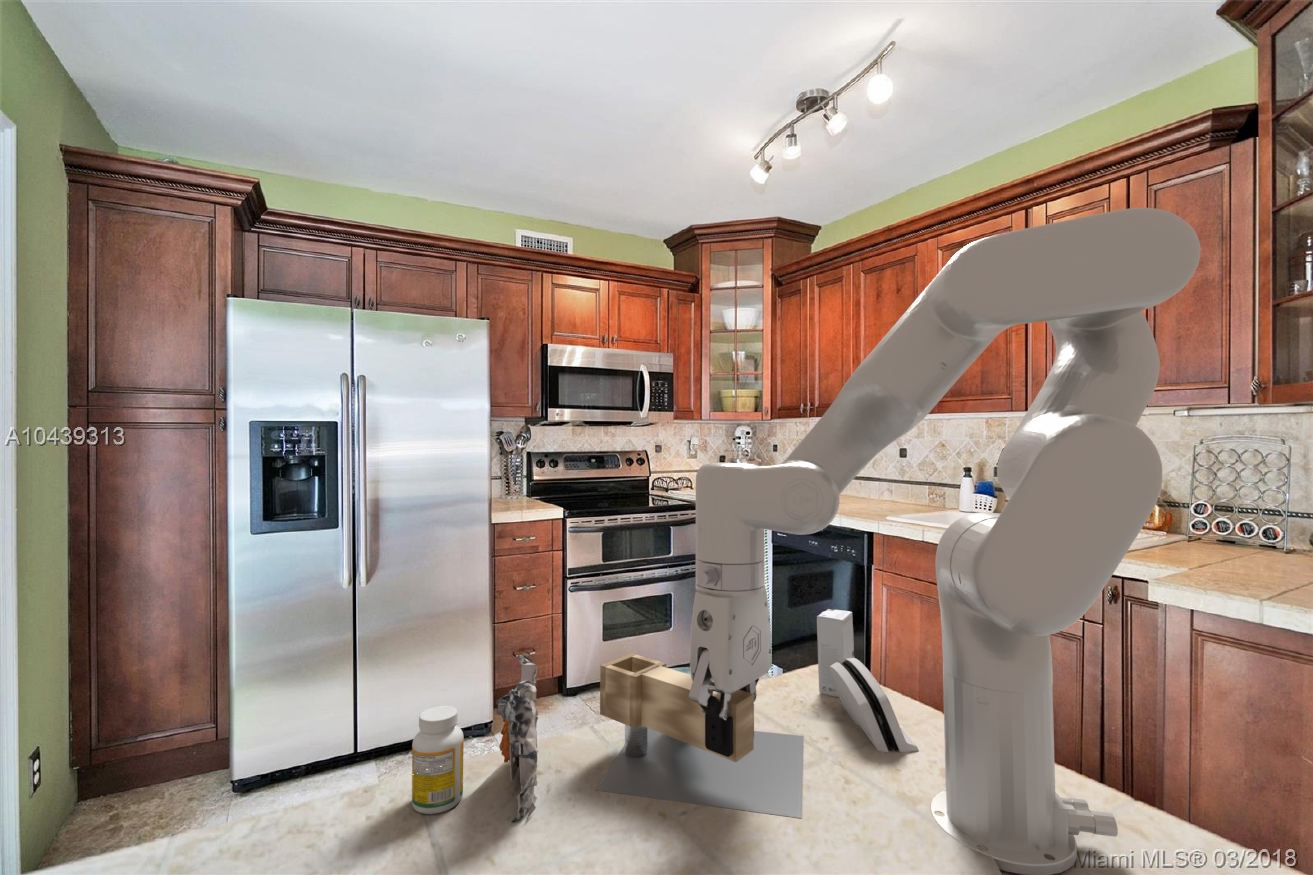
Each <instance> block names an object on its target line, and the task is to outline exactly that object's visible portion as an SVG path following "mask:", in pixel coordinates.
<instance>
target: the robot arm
mask: <svg viewBox="0 0 1313 875" xmlns="http://www.w3.org/2000/svg"><path fill="white" fill-rule="evenodd" d="M1201 253H1202V252H1201V242H1200V240H1199V237H1198V234H1197V233H1196V230H1195V229H1194V228H1193V227H1192V226H1191V225H1190V224H1189V223H1188V221H1186V220H1185V219H1184V218H1182V217H1181V216H1179V215H1177V214H1175V213H1173V212H1171V211H1167V210H1165V209H1160V208H1159V209H1158V208H1153V207H1132V208H1124V209H1119V210H1118V209H1117V210H1112V211H1106V212H1102V213H1097V214H1093V215H1087V216H1082V217H1077V218H1072V219H1069V220H1068V219H1067V220H1064V221H1057V222H1052V223H1047V224H1041V225H1037V226H1031V227H1027V228H1026V227H1025V228H1022V229H1017V230H1012V231H1007V232H1002V233H999V234H994V235H991V236H987V237H983V238H981V239H978V240H976V241H973V242H971V243H969V244H967V245H965V246H963V248H961V249H960V250H958V251H957V252H956V253H955V254H954V255H953V256H952V257H951V258H950V259H949V260H948V261H947V263H946V264H945V265H944V266H943V267H942V269H941V270H940V271H939V272H938V273H937V274H936V276H935V277H934V278H933V279H931V282H930V283H929V284H928V285H927V286H926V287H925V288H924V289H923V290H922V292H921V293H920V294H919V295H918V296H917V298H916V299H915V300H914V301H913V302H912V304H911V305H910V306H909V307H908V308H907V310H906V311H905V312H904V313H903V314H902V315H901V317H900V318H899V319H898V320H897V321H896V323H895V324H894V325H893V326H892V327H891V328H890V329H889V331H888V332H887V333H886V334H885V335H884V336H883V337H882V338H881V340H880V341H879V342H878V344H877V345H876V346H874V348H873V349H872V351H870V353H869V354H867V356H866V357H865V358H864V359H863V361H861V363H860V364H859V365H858V367H857V368H856V369H855V370H854V371H853V373H852V374H851V376H850V377H849V378H848V379H847V381H846V382H845V383H844V385H843V386H842V387H841V390H840V391H839V393H838V394H837V396H836V397H835V399H834V400H833V402H832V403H831V405H830V406H829V407H828V409H826V411H825V412H824V414H823V415H822V416H821V417H820V419H819V420H818V421H817V422H816V423H815V425H813V427H812V428H811V430H809V432H807V434H806V435H805V437H804V438H803V439H802V440H801V441H800V442H799V443H798V445H796V447H795V448H794V449H793V450H792V451H791V453H790V454H789V455H788V456H787V457H786V458H785V459H784V461H782V463H781V464H774V465H761V466H760V465H757V464H754V463H748V462H747V463H746V462H716V463H715V462H712V463H711V462H709V463H705V464H704V465H702V466H700V467H699V468H698V470H697V472H696V474H695V589H696V591H695V594H694V601H693V607H692V613H691V614H692V617H691V625H690V628H691V629H690V641H689V667H690V672H691V678H692V681H693V683H692V686H691V689H690V693H689V699H690V700H692V701H694V702H696V703H698V704H699V705H700V706H701V707H702V712H703V713H705V747H706V748H707V749H708V750H711V751H713V752H716V753H718V754H721V755H724V756H726V757H729V756H731V755H732V754H733V717H730V716H729V711H730V698H731V693H734V692H736V691H737V690H742V691H745V692H748V693H752V694H754V703H755V702H756V700H757V684H758V683H759V680H760V678H762V677H763V676H764V675H766V674H767V673H768V672H769V671H770V669H771V668H772V659H773V657H772V656H773V654H772V650H773V649H772V632H771V631H772V630H771V618H770V617H771V616H770V615H771V614H770V608H769V601H768V600H769V598H768V594H767V593H768V592H767V589H766V585H765V530H767V531H774V532H779V533H784V534H786V533H787V534H791V535H801V536H802V535H803V536H804V535H811V534H815V533H818V532H820V531H822V530H824V529H826V528H827V527H828V526H829V525H830V524H831V523H832V522H833V521H834V519H835V517H836V515H837V514H838V510H839V506H840V496H841V494H842V493H843V492H844V491H845V489H847V487H848V486H849V485H850V484H851V482H852V481H853V480H854V479H855V478H856V477H857V476H858V475H859V473H861V472H862V470H863V469H864V468H865V467H866V466H867V465H868V464H870V462H871V461H872V460H873V459H874V458H875V457H877V455H878V454H880V452H882V451H883V450H884V449H886V448H887V447H888V446H890V445H891V444H892V443H894V442H895V441H897V440H898V439H900V438H902V437H904V435H906V434H907V433H909V432H910V431H911V430H913V429H914V428H915V427H916V426H917V425H918V424H919V423H921V422H922V421H923V420H924V419H925V418H926V417H927V416H928V415H929V414H930V413H931V412H932V410H933V409H934V408H935V407H936V405H937V404H938V403H939V402H940V401H941V400H942V399H943V397H944V396H945V395H946V393H948V392H949V390H950V389H951V388H952V387H953V386H954V385H955V384H956V383H957V381H958V380H959V379H960V378H961V377H962V376H963V374H964V373H965V372H966V371H968V370H969V368H970V367H971V366H972V365H973V363H975V361H977V359H978V358H979V357H980V356H981V355H982V354H983V352H984V351H985V350H986V349H987V348H988V347H989V346H990V344H991V343H992V342H993V341H994V340H995V339H997V337H998V336H999V335H1000V334H1001V333H1002V332H1004V331H1006V330H1007V329H1009V328H1010V327H1013V326H1019V325H1026V324H1032V323H1043V322H1045V323H1046V324H1047V326H1048V329H1049V330H1050V332H1051V335H1052V336H1053V340H1054V344H1055V355H1054V361H1053V362H1052V363H1053V364H1052V366H1051V369H1050V370H1049V372H1048V375H1047V376H1046V377H1045V378H1046V379H1045V380H1044V382H1043V385H1042V386H1041V388H1040V390H1039V392H1038V393H1037V395H1036V396H1035V398H1034V400H1033V402H1032V403H1031V405H1030V406H1029V408H1028V410H1027V411H1026V413H1025V414H1024V416H1023V418H1022V419H1021V421H1020V423H1019V424H1018V426H1017V427H1016V429H1015V431H1014V432H1013V433H1012V435H1011V436H1010V437H1009V439H1008V441H1007V442H1006V444H1005V446H1004V448H1003V449H1002V450H1001V453H1000V455H999V458H998V461H997V467H996V474H997V482H998V484H999V487H1000V488H1001V490H1002V491H1003V493H1004V494H1005V495H1006V496H1007V497H1008V498H1009V499H1008V501H1007V503H1006V504H1005V506H1004V507H1003V509H1002V510H1001V512H1000V513H997V512H976V513H975V512H974V513H971V514H968V515H965V516H963V517H960V518H959V519H957V520H955V521H953V523H951V524H950V525H949V526H948V527H947V528H946V529H945V531H944V532H943V533H942V534H941V536H940V539H939V541H938V544H937V548H936V552H935V560H934V561H935V563H934V564H935V565H934V566H935V579H936V586H937V594H938V601H939V604H938V605H939V610H940V611H939V612H940V621H941V622H940V624H941V638H942V639H941V640H942V641H941V642H942V679H943V682H942V684H943V685H942V686H943V687H942V688H943V726H944V727H943V729H944V732H943V733H944V764H945V766H944V767H945V768H944V769H945V770H944V771H945V773H944V774H945V775H944V776H945V790H942V791H940V792H939V793H937V794H936V795H935V796H934V797H933V798H932V799H931V801H930V805H929V806H930V813H931V816H932V818H933V819H934V821H935V822H936V823H937V825H938V826H939V827H940V828H941V829H942V831H944V832H945V833H946V834H948V835H949V836H950V837H952V838H953V839H954V840H956V841H957V842H959V843H961V844H962V845H964V846H966V847H967V848H970V849H972V850H973V851H976V852H979V853H980V854H983V855H985V856H988V857H991V858H993V859H994V861H995V863H996V866H997V867H998V869H999V870H1001V871H1004V872H1007V873H1013V874H1017V875H1055V874H1056V875H1057V874H1060V873H1063V872H1065V871H1067V870H1069V869H1070V868H1072V867H1073V866H1074V864H1075V862H1076V860H1077V859H1078V844H1077V840H1076V837H1075V836H1079V835H1080V832H1082V833H1089V834H1090V833H1091V834H1093V835H1099V836H1107V837H1114V838H1116V837H1118V833H1119V832H1118V831H1119V830H1118V825H1117V821H1116V818H1115V816H1114V815H1113V814H1112V813H1111V812H1107V811H1098V810H1091V809H1090V808H1089V804H1088V802H1087V800H1086V799H1082V798H1073V797H1069V798H1067V797H1060V795H1059V794H1058V793H1057V792H1056V773H1055V772H1056V770H1055V768H1056V767H1055V736H1054V735H1055V734H1054V732H1055V731H1054V704H1053V703H1054V702H1053V701H1054V700H1053V696H1054V695H1053V685H1054V676H1053V675H1054V674H1053V673H1054V672H1053V671H1054V670H1053V658H1052V657H1053V656H1052V647H1051V639H1050V635H1054V634H1057V633H1059V632H1062V631H1064V630H1066V629H1067V628H1070V627H1071V626H1073V625H1074V624H1075V623H1076V622H1078V621H1079V620H1081V618H1082V617H1083V616H1084V615H1085V614H1086V613H1087V611H1088V610H1090V608H1091V607H1092V606H1093V604H1094V603H1095V602H1096V600H1098V598H1099V596H1100V594H1101V593H1102V591H1103V590H1104V589H1105V587H1106V585H1107V584H1108V583H1109V581H1110V579H1111V578H1112V576H1113V575H1114V573H1115V571H1116V570H1117V569H1118V567H1119V565H1120V564H1121V562H1122V561H1123V559H1124V557H1125V556H1126V554H1127V553H1128V551H1129V549H1130V548H1131V547H1132V545H1133V543H1134V542H1135V540H1136V539H1137V537H1138V535H1139V533H1140V532H1141V531H1142V529H1143V527H1144V526H1145V524H1146V522H1148V519H1149V518H1150V516H1151V514H1152V512H1153V511H1154V509H1155V507H1156V505H1157V502H1158V499H1159V497H1160V494H1161V490H1162V484H1163V466H1162V459H1161V455H1160V454H1159V451H1158V449H1157V447H1156V445H1155V443H1154V442H1153V440H1152V439H1151V438H1150V437H1149V436H1148V435H1147V433H1146V432H1144V431H1143V430H1142V429H1141V428H1139V427H1138V426H1137V425H1138V423H1139V421H1140V420H1141V417H1142V416H1143V413H1144V412H1145V410H1146V408H1147V406H1148V405H1149V403H1150V400H1151V399H1152V397H1153V395H1154V392H1155V391H1156V387H1157V384H1158V381H1159V378H1160V370H1161V369H1160V368H1161V365H1160V364H1161V363H1160V354H1159V349H1158V346H1157V343H1156V341H1155V337H1154V334H1153V331H1152V329H1151V327H1150V324H1149V322H1148V320H1147V318H1146V316H1145V314H1144V313H1143V311H1145V310H1147V309H1151V308H1153V307H1155V306H1158V305H1159V304H1162V303H1163V302H1166V301H1168V300H1169V299H1171V298H1172V297H1174V296H1175V295H1176V294H1178V293H1179V292H1180V291H1181V290H1182V289H1183V288H1185V287H1186V285H1188V283H1189V282H1190V280H1191V279H1193V276H1194V275H1195V272H1196V270H1197V268H1198V267H1199V263H1200V259H1201ZM713 691H715V692H718V693H721V696H720V702H719V700H718V699H717V698H716V697H715V696H713ZM936 812H939V813H942V814H943V815H941V816H940V815H938V814H936ZM979 846H983V847H984V848H986V849H987V850H982V849H979V848H978V847H979Z"/></svg>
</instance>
